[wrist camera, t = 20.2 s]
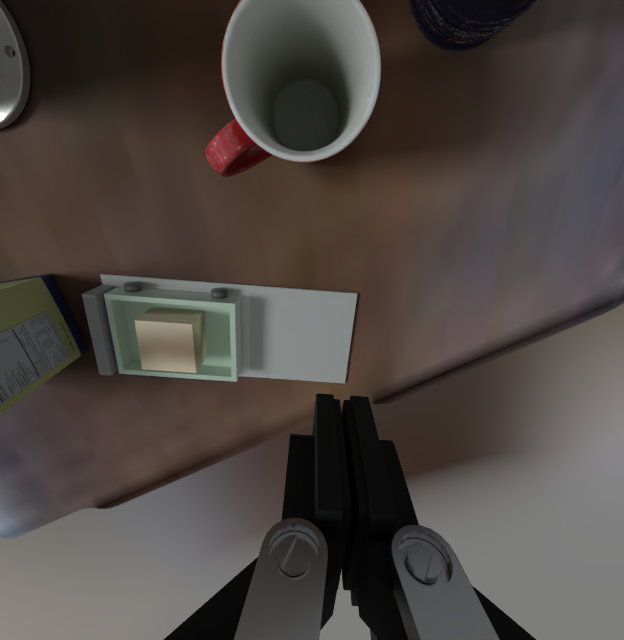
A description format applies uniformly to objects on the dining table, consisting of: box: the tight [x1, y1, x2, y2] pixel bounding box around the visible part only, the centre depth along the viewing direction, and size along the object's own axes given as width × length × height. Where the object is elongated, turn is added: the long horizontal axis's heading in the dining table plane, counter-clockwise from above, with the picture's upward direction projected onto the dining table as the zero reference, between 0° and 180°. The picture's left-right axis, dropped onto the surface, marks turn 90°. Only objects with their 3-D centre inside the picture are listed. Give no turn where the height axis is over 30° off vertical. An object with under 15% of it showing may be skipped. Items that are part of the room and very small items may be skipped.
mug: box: [205, 0, 381, 177], centre depth 24 cm, size 13×9×14 cm
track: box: [82, 274, 357, 383], centre depth 37 cm, size 30×12×4 cm, turn 86°
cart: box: [104, 281, 241, 382], centre depth 37 cm, size 14×12×3 cm
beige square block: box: [134, 307, 207, 373], centre depth 36 cm, size 6×6×4 cm
